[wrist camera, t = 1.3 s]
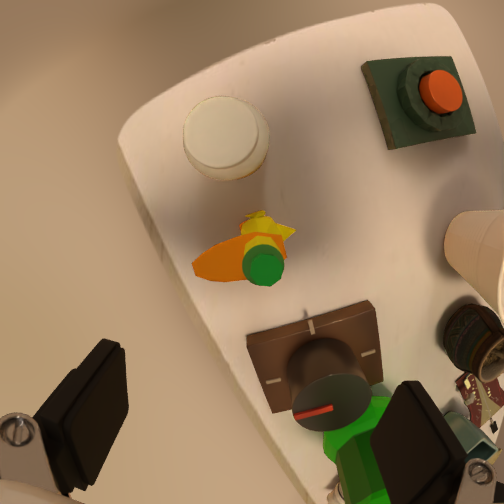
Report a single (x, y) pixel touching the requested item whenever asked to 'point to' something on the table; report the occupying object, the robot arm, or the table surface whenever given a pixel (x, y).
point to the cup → (479, 253)
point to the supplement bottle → (226, 138)
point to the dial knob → (327, 386)
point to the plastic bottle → (358, 457)
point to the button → (440, 92)
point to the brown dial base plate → (300, 333)
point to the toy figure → (247, 253)
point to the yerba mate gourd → (476, 342)
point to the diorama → (481, 399)
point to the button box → (413, 101)
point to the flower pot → (471, 437)
